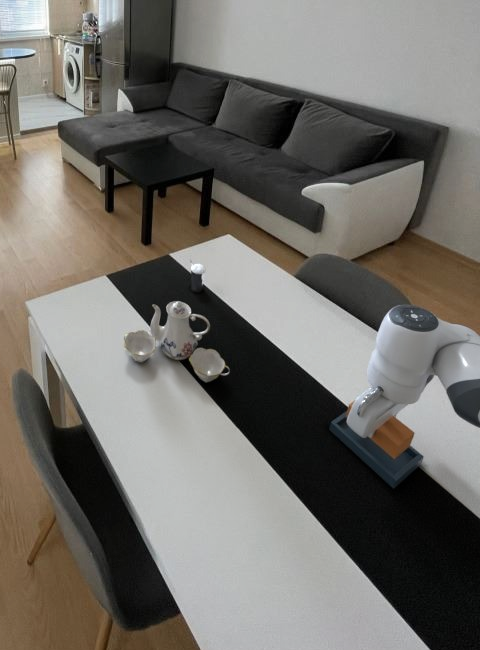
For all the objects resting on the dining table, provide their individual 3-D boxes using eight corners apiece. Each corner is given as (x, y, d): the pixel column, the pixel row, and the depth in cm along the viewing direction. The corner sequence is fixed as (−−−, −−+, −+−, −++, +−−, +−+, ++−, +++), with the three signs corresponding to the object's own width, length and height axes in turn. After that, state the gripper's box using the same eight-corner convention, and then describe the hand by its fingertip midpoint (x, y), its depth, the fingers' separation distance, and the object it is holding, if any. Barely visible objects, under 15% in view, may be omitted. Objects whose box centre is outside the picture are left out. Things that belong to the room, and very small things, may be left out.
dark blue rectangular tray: (421, 464, 88) (424, 456, 87) (393, 489, 84) (396, 481, 83) (355, 410, 99) (357, 402, 98) (328, 429, 96) (330, 422, 95)
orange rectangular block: (410, 445, 87) (416, 430, 85) (394, 459, 85) (399, 443, 83) (361, 405, 95) (365, 390, 94) (345, 417, 93) (349, 401, 91)
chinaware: (118, 372, 114) (115, 330, 106) (130, 322, 128) (128, 281, 120) (228, 397, 106) (234, 353, 98) (228, 341, 119) (233, 298, 112)
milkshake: (193, 281, 143) (194, 256, 140) (206, 289, 140) (208, 264, 136) (184, 287, 141) (186, 262, 137) (198, 295, 137) (200, 270, 133)
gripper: (379, 415, 77) (363, 464, 83) (440, 368, 86) (422, 416, 91) (345, 388, 83) (332, 436, 88) (406, 346, 91) (391, 392, 96)
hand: (378, 425), depth 89 cm, fingers closed on orange rectangular block, 5 cm apart
